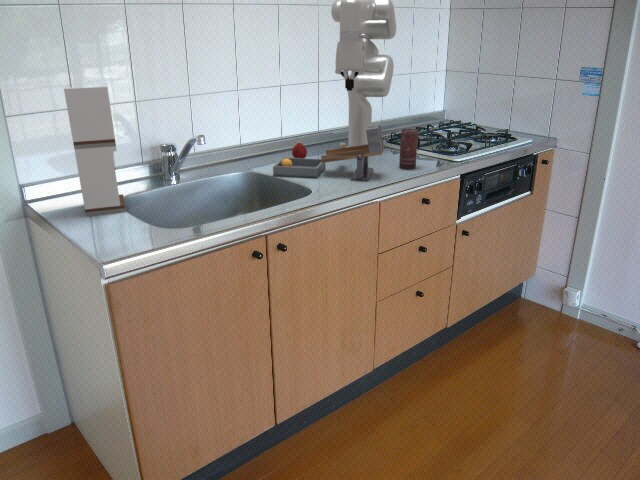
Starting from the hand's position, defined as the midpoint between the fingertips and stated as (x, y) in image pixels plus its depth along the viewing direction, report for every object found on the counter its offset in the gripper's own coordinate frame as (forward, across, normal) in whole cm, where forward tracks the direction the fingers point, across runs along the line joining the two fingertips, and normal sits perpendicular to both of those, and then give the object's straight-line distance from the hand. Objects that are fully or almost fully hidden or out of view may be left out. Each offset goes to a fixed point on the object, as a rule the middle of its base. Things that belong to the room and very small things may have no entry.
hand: (349, 90), depth 202 cm
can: (+27, -23, +4) cm, 36 cm away
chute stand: (+27, -8, +18) cm, 34 cm away
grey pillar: (+27, +61, +69) cm, 96 cm away
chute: (+20, -5, +14) cm, 25 cm away
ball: (+24, +20, +18) cm, 36 cm away
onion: (+27, +19, +2) cm, 33 cm away
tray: (+27, +15, +18) cm, 36 cm away
